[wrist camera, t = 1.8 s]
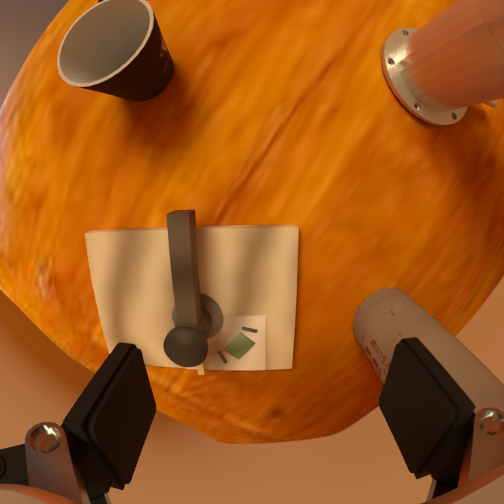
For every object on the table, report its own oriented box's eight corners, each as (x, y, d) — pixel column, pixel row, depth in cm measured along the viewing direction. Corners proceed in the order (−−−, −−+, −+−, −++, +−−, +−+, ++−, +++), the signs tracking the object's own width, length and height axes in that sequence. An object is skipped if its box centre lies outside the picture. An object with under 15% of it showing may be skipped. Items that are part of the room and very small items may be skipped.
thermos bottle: (352, 353, 31) (445, 562, 4) (352, 294, 29) (505, 528, 2) (408, 338, 31) (529, 504, 4) (413, 281, 29) (588, 441, 2)
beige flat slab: (296, 224, 28) (299, 228, 26) (290, 361, 32) (292, 372, 30) (91, 230, 28) (81, 234, 26) (115, 354, 32) (109, 363, 30)
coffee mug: (176, 111, 25) (138, 81, 15) (102, 113, 24) (46, 93, 15) (196, 17, 22) (175, -36, 12) (125, 24, 22) (86, -16, 12)
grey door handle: (219, 371, 29) (213, 404, 24) (185, 369, 29) (175, 401, 24) (208, 207, 25) (196, 216, 20) (167, 209, 25) (146, 218, 20)
